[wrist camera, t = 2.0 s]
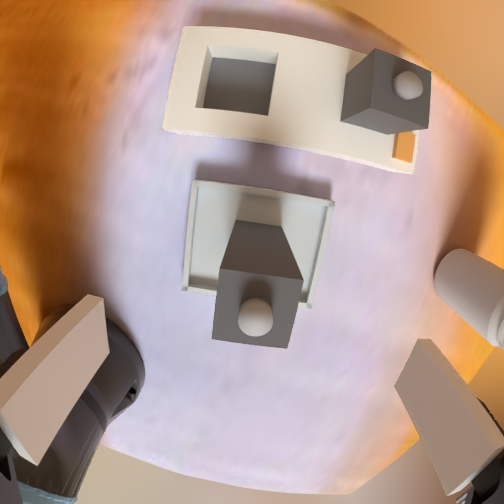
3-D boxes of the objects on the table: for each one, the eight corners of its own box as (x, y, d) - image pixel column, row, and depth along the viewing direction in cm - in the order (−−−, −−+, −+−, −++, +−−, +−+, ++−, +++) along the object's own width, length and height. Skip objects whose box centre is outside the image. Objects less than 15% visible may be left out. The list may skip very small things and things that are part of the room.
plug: (229, 263, 26) (209, 349, 14) (235, 219, 25) (216, 276, 12) (273, 269, 26) (288, 359, 14) (281, 226, 25) (307, 289, 13)
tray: (185, 284, 27) (182, 290, 26) (195, 179, 24) (192, 179, 23) (308, 301, 28) (310, 308, 26) (330, 199, 25) (335, 202, 23)
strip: (175, 133, 23) (122, 115, 13) (193, 43, 21) (158, -18, 10) (392, 172, 24) (466, 182, 13) (402, 85, 21) (472, 56, 11)
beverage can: (424, 298, 28) (485, 358, 16) (438, 243, 26) (514, 286, 14) (461, 298, 28) (521, 349, 16) (475, 248, 26) (545, 287, 14)
